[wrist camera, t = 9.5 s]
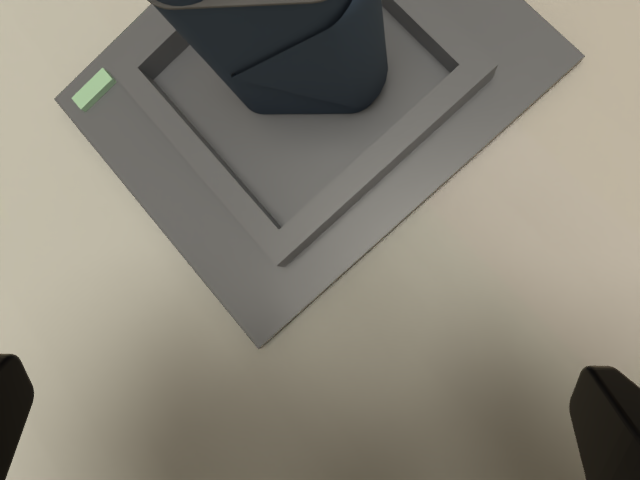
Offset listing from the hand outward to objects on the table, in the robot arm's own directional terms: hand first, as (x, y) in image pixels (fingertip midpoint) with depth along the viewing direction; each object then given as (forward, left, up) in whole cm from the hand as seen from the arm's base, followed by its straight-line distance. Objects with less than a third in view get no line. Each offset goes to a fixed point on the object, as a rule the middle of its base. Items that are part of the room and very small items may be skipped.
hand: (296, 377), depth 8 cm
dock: (+4, +8, -9) cm, 13 cm away
